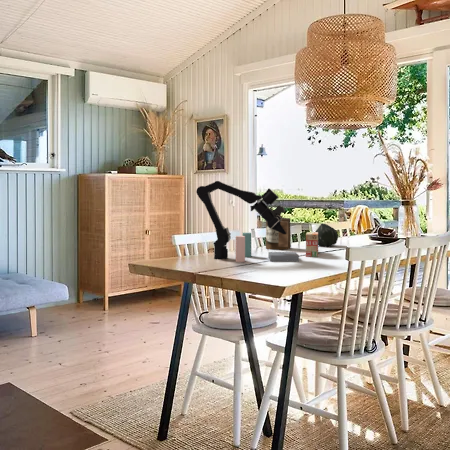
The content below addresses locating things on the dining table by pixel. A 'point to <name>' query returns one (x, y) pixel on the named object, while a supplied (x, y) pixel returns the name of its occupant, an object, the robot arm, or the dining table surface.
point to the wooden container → (276, 236)
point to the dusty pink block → (240, 248)
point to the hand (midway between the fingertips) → (286, 233)
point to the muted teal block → (247, 244)
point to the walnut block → (283, 235)
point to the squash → (326, 235)
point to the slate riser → (283, 256)
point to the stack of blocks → (312, 244)
